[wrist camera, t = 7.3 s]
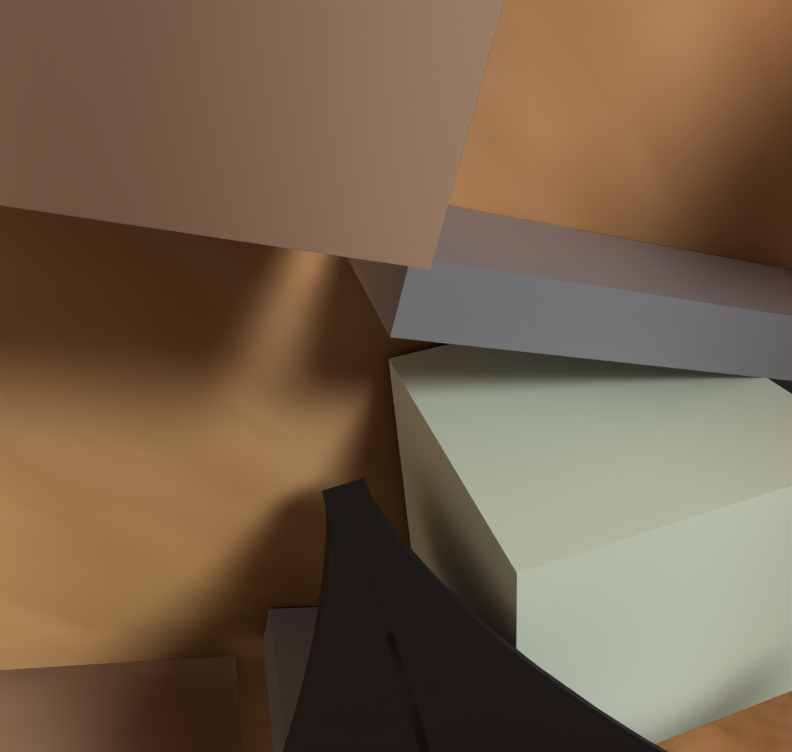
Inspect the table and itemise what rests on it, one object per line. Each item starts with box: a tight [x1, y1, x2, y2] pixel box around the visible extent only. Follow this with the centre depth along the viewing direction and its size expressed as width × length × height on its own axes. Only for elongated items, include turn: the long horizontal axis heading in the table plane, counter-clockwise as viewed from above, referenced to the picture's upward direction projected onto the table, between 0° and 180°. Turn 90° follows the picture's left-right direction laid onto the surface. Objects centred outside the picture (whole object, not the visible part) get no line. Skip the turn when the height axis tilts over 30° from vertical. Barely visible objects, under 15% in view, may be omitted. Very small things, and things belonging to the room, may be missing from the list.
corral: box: [263, 206, 792, 752], centre depth 12 cm, size 9×10×3 cm
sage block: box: [389, 344, 792, 744], centre depth 11 cm, size 5×5×5 cm
